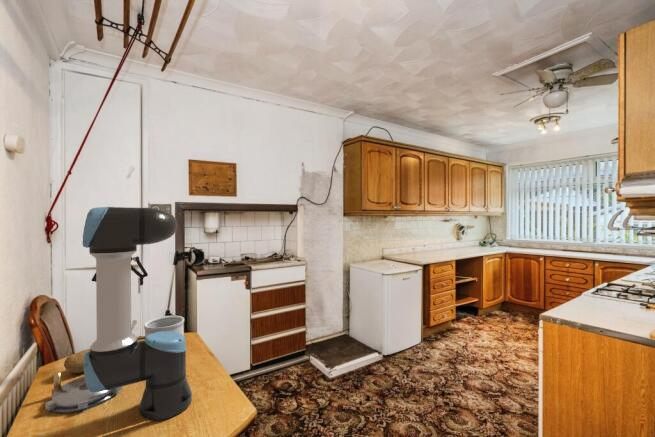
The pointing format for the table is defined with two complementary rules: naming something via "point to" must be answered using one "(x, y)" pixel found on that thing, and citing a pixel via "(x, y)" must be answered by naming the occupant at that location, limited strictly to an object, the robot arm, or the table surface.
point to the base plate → (72, 410)
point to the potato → (75, 362)
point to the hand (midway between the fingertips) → (121, 294)
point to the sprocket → (74, 394)
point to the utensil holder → (165, 325)
